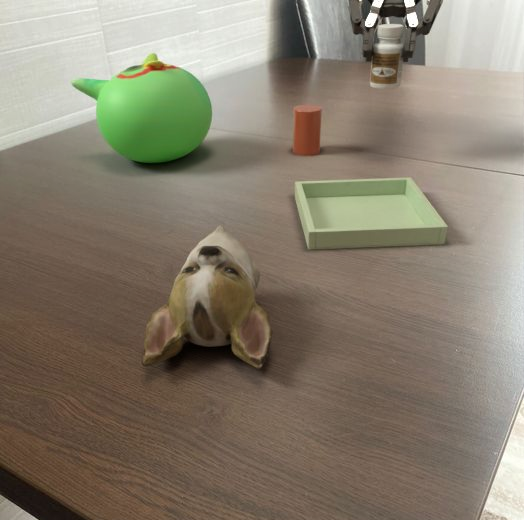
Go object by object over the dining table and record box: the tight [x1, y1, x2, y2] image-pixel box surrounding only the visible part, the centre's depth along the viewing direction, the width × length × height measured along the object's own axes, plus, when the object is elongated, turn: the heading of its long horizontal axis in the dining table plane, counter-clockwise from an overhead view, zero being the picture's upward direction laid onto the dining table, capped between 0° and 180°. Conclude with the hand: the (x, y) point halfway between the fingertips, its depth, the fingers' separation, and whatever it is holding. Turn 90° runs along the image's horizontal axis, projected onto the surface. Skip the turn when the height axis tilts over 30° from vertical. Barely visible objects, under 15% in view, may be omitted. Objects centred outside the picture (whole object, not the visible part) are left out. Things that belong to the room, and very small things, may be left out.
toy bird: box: [70, 52, 213, 164], centre depth 85 cm, size 18×17×15 cm
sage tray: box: [294, 177, 449, 250], centre depth 68 cm, size 16×16×2 cm
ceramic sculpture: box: [141, 225, 273, 370], centre depth 48 cm, size 11×9×15 cm
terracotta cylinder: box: [292, 104, 323, 157], centre depth 88 cm, size 4×4×7 cm
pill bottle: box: [369, 23, 405, 90], centre depth 78 cm, size 4×4×8 cm
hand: (387, 57), depth 76 cm, fingers closed on pill bottle, 4 cm apart
